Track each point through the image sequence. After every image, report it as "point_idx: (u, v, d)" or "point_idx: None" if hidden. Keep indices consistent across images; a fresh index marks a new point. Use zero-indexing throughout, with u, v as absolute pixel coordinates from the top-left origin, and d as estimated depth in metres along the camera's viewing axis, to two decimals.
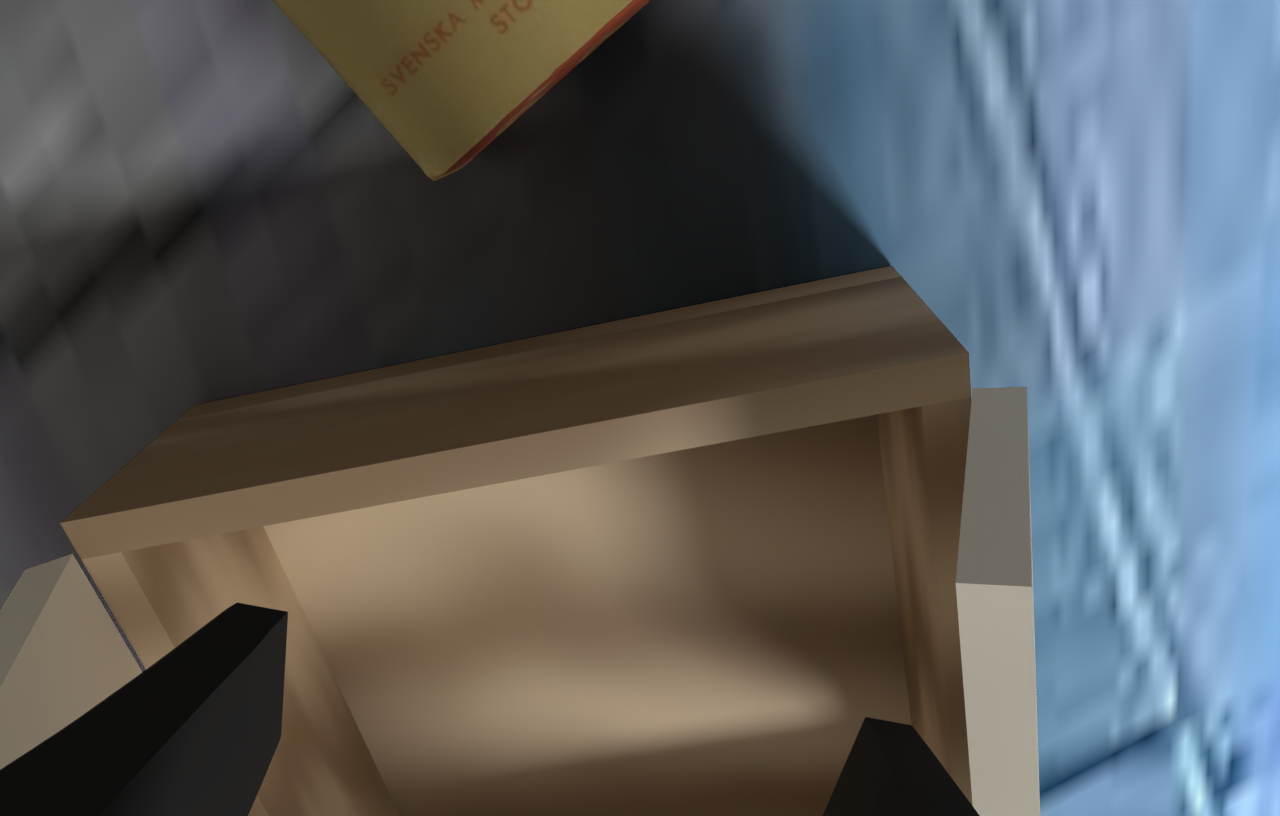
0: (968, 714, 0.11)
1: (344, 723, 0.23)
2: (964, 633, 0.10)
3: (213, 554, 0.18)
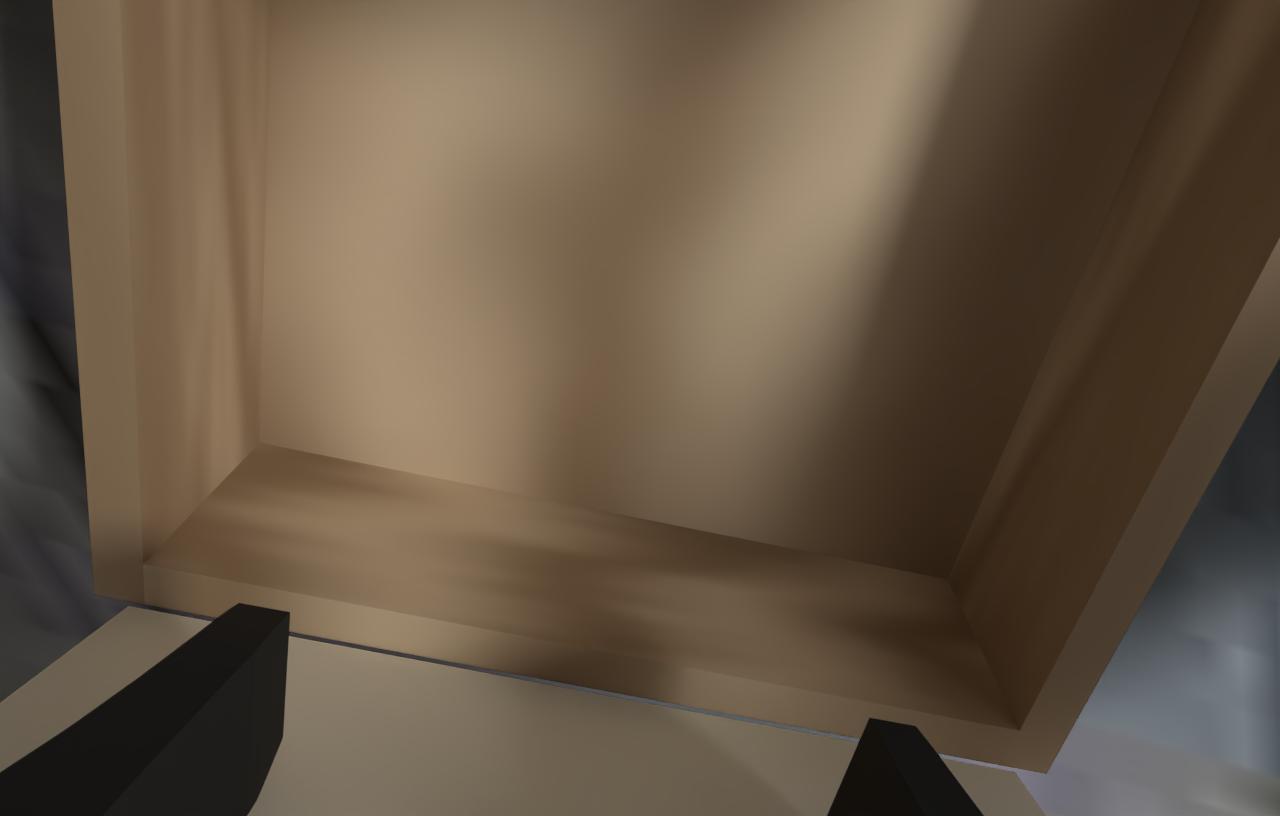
0: None
1: (652, 532, 0.17)
2: None
3: (300, 510, 0.16)
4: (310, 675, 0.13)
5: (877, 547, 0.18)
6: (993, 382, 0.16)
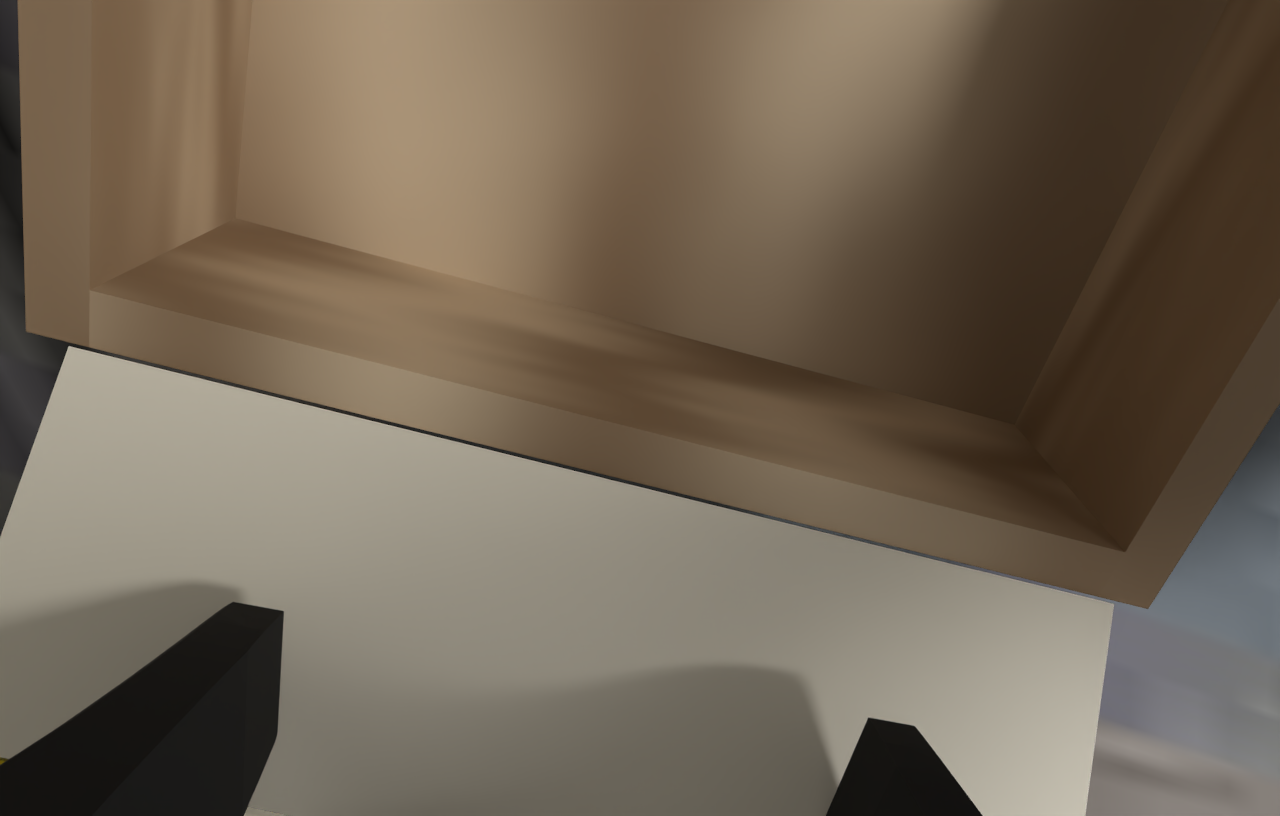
0: None
1: (690, 347, 0.15)
2: None
3: (284, 275, 0.13)
4: (299, 482, 0.11)
5: (940, 382, 0.16)
6: (1091, 181, 0.14)
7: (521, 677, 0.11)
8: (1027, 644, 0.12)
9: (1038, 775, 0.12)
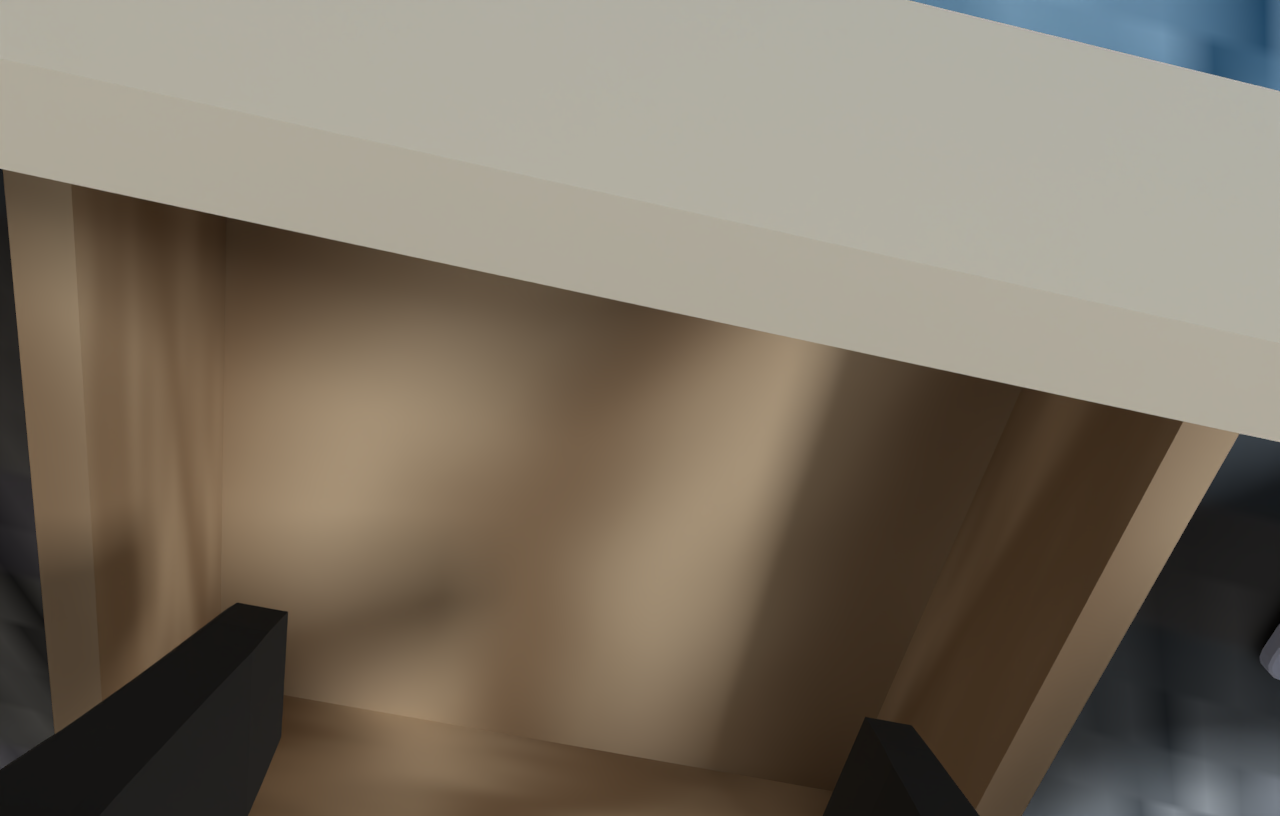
0: None
1: (576, 762, 0.19)
2: None
3: None
4: None
5: (780, 768, 0.20)
6: (875, 640, 0.18)
7: None
8: None
9: None
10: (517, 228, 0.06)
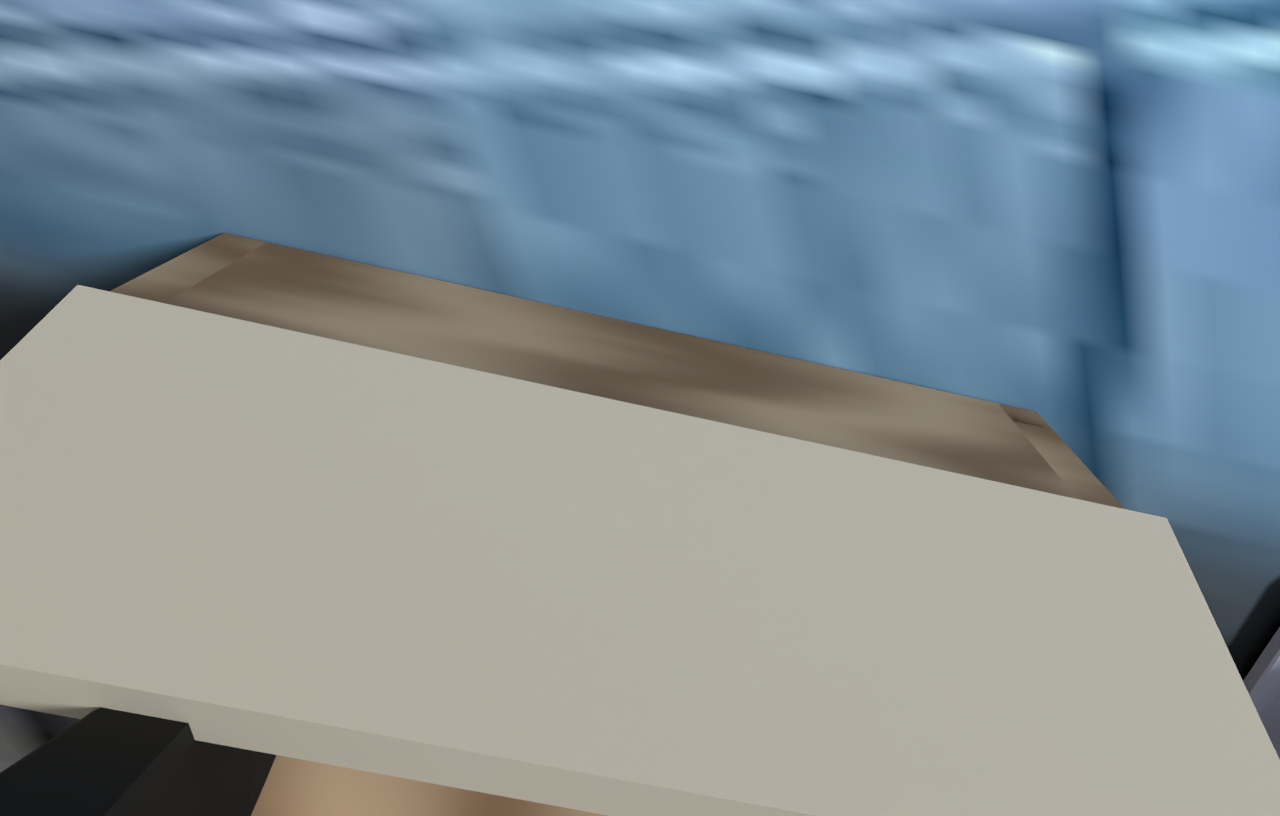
0: (15, 702, 0.08)
1: None
2: None
3: None
4: None
5: None
6: None
7: None
8: None
9: None
10: (449, 767, 0.08)
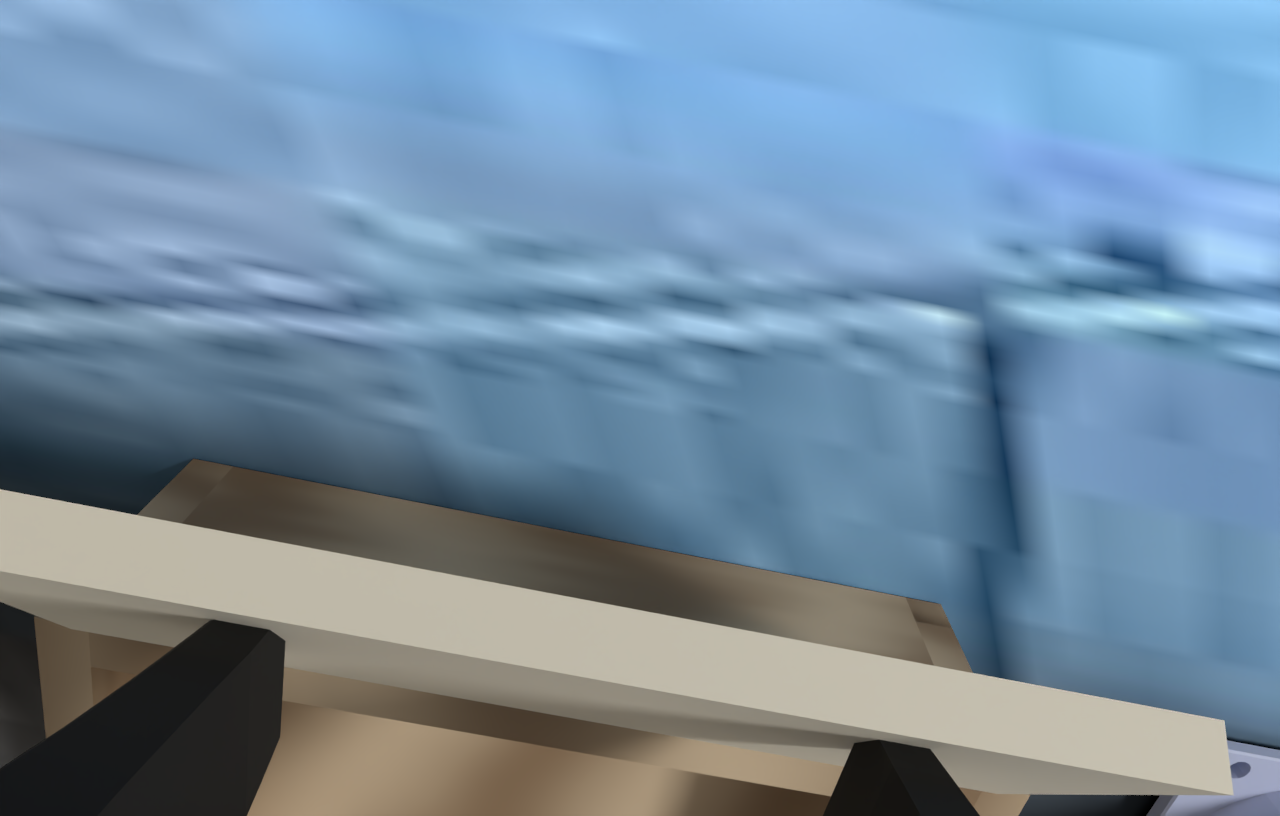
0: (65, 579, 0.09)
1: None
2: None
3: None
4: None
5: None
6: None
7: None
8: None
9: None
10: (470, 616, 0.09)
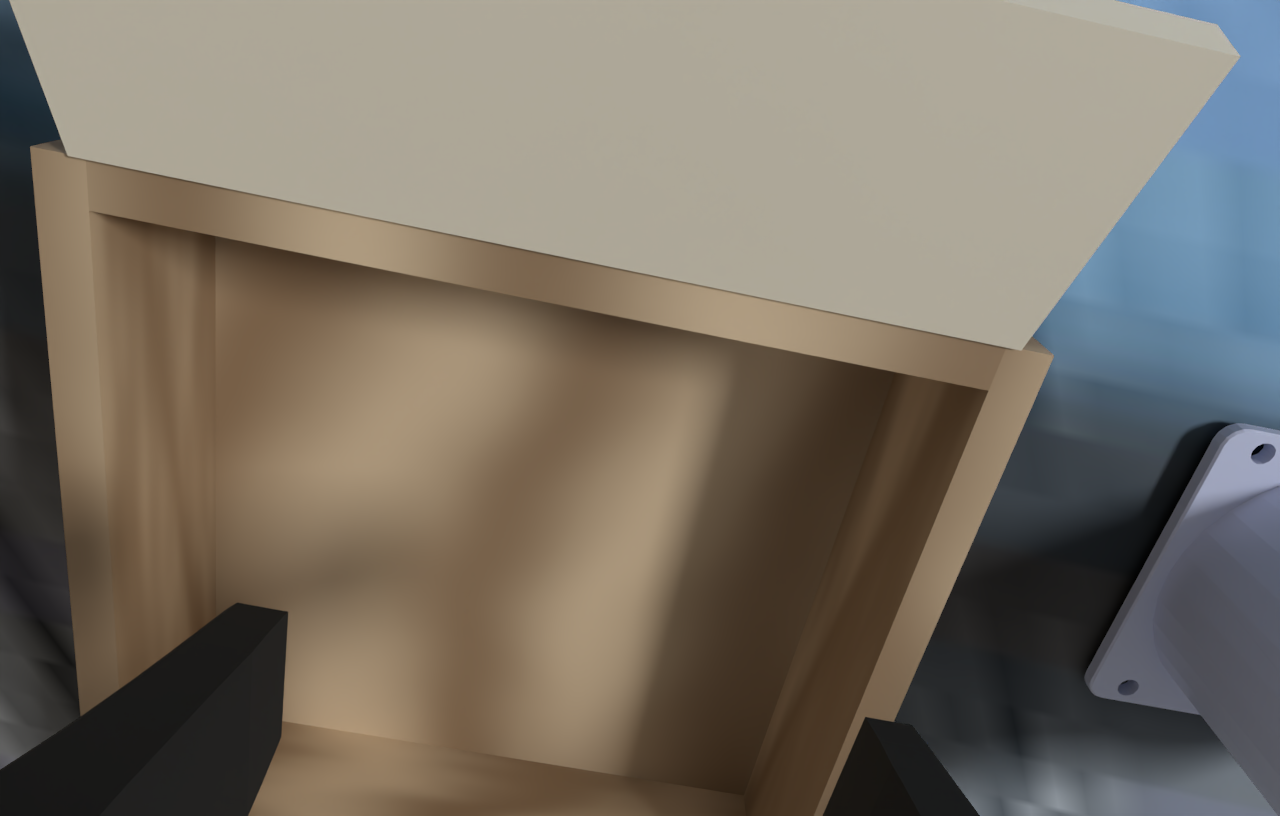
0: None
1: (515, 772, 0.23)
2: None
3: None
4: None
5: (688, 775, 0.24)
6: (760, 669, 0.22)
7: None
8: None
9: None
10: None
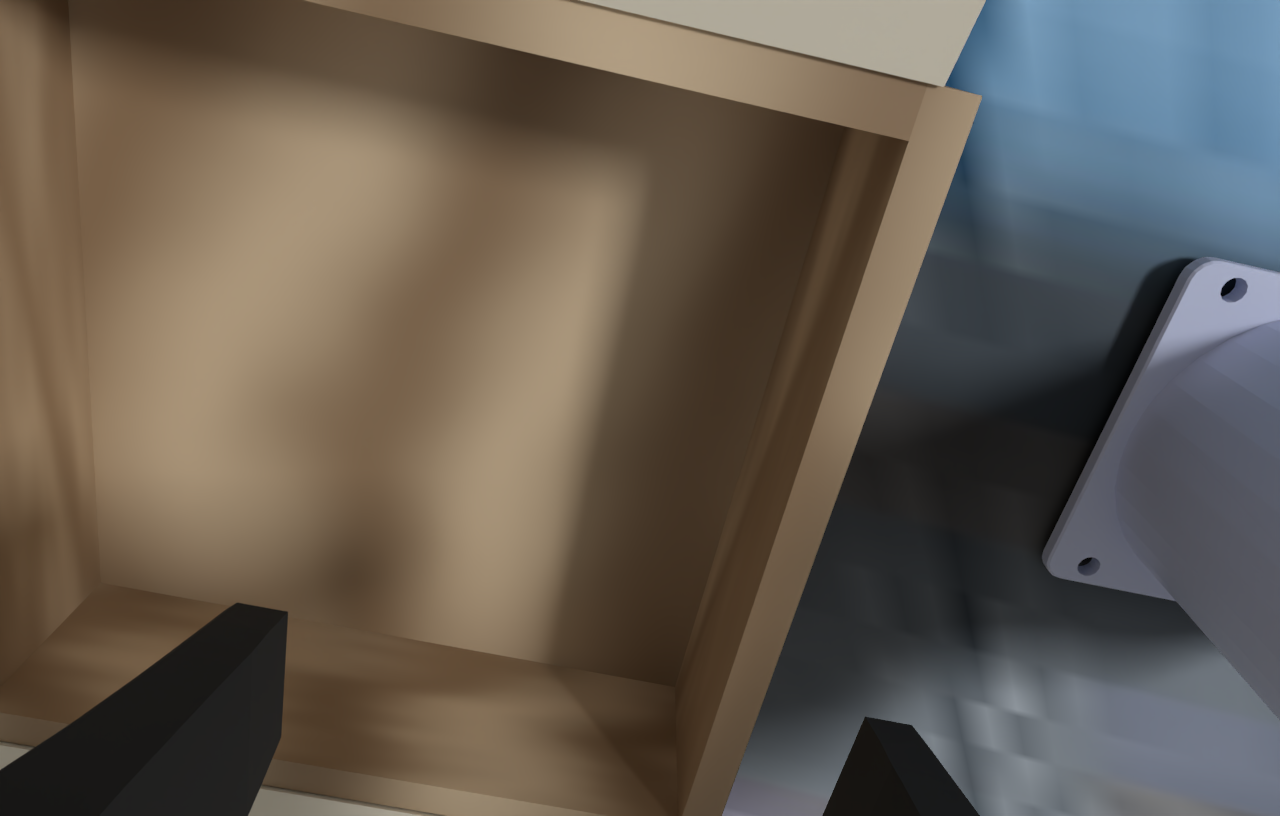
0: None
1: (425, 654, 0.21)
2: None
3: (122, 649, 0.20)
4: None
5: (614, 662, 0.22)
6: (688, 539, 0.20)
7: None
8: None
9: None
10: None
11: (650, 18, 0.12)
